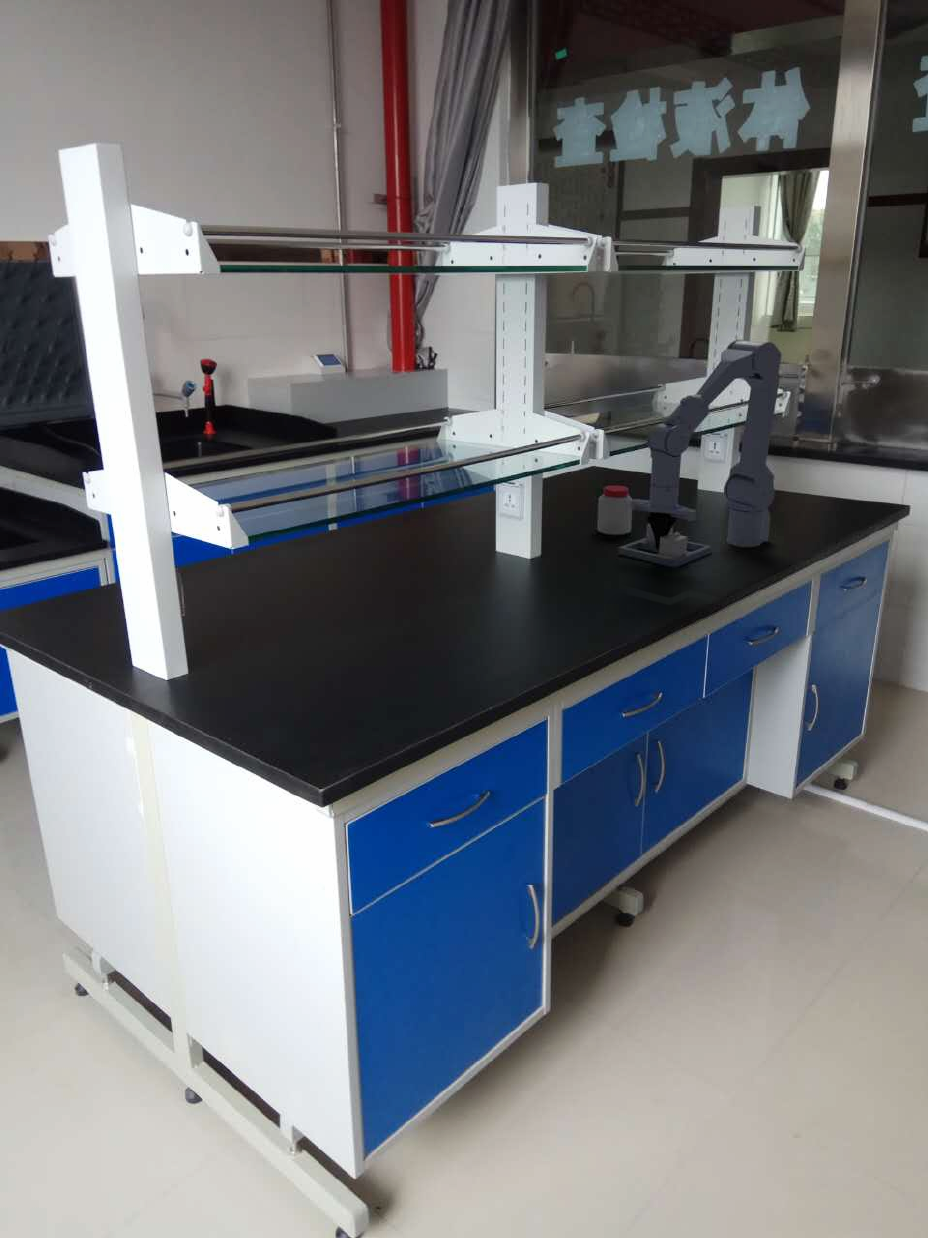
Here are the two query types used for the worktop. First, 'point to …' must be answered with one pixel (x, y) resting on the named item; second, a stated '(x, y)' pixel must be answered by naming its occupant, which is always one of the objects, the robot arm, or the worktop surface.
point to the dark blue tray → (632, 551)
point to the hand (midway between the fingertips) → (660, 548)
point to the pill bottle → (614, 511)
